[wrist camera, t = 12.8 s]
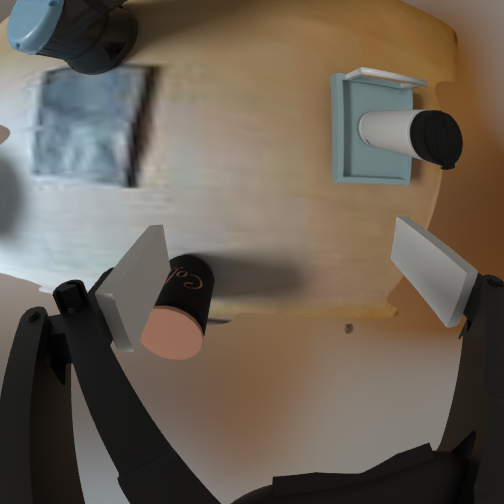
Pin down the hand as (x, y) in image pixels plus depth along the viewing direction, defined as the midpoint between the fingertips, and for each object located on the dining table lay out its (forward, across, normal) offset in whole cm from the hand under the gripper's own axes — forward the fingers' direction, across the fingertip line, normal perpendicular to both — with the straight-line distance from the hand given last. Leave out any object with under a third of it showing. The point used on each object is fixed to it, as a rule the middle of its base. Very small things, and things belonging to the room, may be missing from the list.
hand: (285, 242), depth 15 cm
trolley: (+35, +19, +6) cm, 40 cm away
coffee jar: (+35, -15, -22) cm, 44 cm away
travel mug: (+31, +19, +6) cm, 37 cm away
